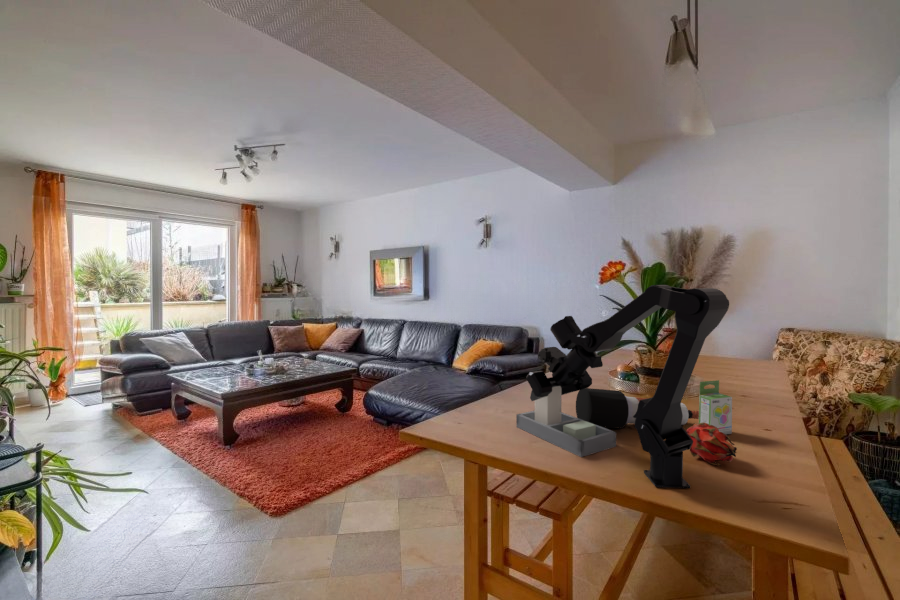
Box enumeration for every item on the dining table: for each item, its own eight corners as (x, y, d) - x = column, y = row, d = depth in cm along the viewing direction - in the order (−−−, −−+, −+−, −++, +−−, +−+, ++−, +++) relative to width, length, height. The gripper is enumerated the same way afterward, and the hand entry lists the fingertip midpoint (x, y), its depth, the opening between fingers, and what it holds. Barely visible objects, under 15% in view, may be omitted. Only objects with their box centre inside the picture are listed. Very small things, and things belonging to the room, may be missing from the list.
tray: (616, 446, 98) (616, 428, 98) (580, 457, 92) (581, 437, 92) (548, 419, 118) (548, 404, 118) (516, 426, 112) (516, 410, 112)
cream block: (561, 426, 109) (561, 382, 109) (547, 430, 107) (547, 385, 106) (548, 421, 113) (548, 379, 113) (534, 424, 111) (534, 381, 110)
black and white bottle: (701, 441, 113) (718, 415, 108) (584, 434, 109) (595, 406, 104) (681, 414, 121) (696, 389, 116) (572, 407, 118) (582, 380, 113)
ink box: (711, 437, 104) (711, 385, 103) (697, 431, 108) (698, 381, 107) (732, 434, 106) (733, 383, 105) (718, 429, 109) (719, 379, 109)
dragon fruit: (688, 453, 97) (732, 484, 86) (666, 436, 95) (707, 466, 84) (710, 425, 97) (756, 452, 86) (688, 408, 95) (733, 433, 83)
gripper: (583, 335, 110) (554, 369, 120) (531, 340, 101) (504, 376, 111) (607, 369, 104) (574, 401, 114) (553, 378, 94) (522, 412, 104)
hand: (544, 397), depth 111 cm, fingers open, 9 cm apart
